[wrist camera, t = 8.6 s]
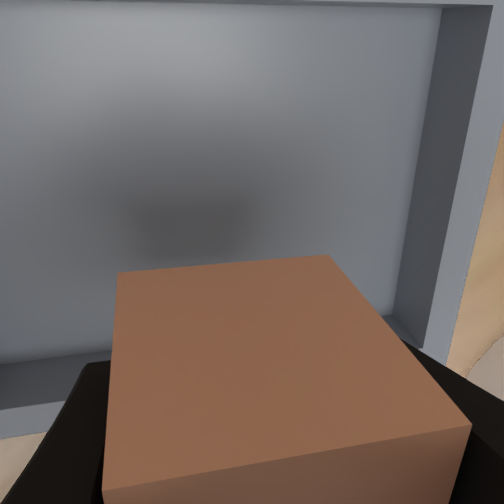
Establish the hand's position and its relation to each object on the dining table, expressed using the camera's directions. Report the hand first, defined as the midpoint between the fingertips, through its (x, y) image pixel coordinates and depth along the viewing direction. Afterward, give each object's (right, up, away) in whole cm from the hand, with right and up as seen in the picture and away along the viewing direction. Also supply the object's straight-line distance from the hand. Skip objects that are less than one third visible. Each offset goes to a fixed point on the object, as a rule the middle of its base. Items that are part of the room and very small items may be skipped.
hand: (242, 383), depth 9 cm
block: (0, 0, +1) cm, 2 cm away
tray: (-2, +5, +7) cm, 9 cm away
